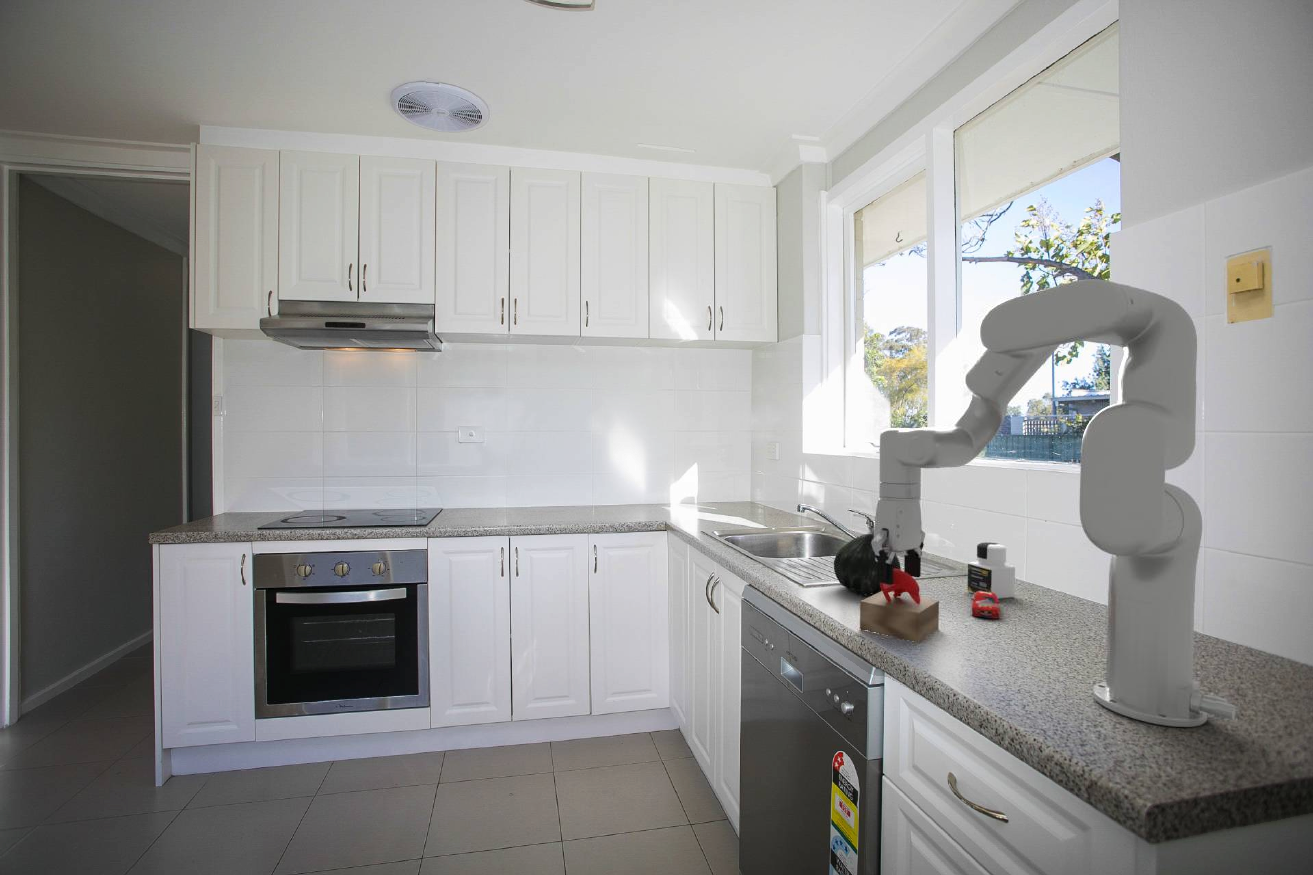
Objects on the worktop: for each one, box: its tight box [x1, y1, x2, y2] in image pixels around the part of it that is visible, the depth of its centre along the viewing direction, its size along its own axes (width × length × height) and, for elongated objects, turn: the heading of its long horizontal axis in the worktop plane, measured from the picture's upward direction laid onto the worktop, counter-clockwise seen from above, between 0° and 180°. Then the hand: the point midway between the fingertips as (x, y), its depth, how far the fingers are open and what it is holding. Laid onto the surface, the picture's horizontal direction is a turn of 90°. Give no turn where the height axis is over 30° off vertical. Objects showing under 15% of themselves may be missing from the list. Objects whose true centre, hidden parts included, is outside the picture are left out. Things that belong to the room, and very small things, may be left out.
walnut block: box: [859, 591, 940, 644], centre depth 123 cm, size 11×11×6 cm
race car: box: [971, 591, 1001, 620], centre depth 136 cm, size 13×5×4 cm, turn 152°
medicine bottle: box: [967, 541, 1016, 600], centre depth 149 cm, size 7×7×12 cm
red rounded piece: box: [880, 569, 921, 604], centre depth 123 cm, size 8×6×6 cm
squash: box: [833, 533, 902, 597], centre depth 151 cm, size 14×15×15 cm
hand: (899, 579), depth 124 cm, fingers open, 9 cm apart
